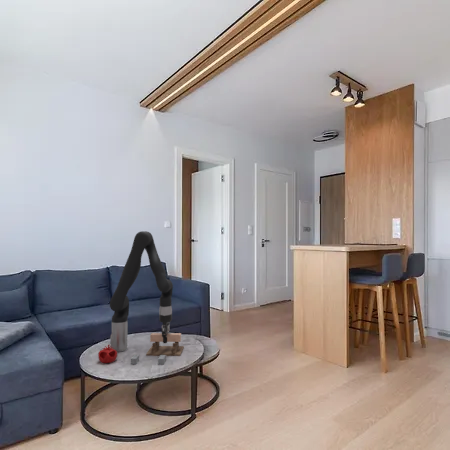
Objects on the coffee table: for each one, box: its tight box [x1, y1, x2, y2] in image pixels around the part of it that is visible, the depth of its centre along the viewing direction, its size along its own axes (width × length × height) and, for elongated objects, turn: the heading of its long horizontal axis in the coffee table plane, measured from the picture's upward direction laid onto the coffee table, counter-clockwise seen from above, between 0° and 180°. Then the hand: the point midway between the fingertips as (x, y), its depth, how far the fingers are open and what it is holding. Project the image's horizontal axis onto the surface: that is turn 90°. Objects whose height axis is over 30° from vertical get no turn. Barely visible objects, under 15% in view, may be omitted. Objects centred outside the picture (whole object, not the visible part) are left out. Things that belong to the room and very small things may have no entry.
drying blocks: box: [130, 354, 167, 366], centre depth 186 cm, size 18×6×3 cm, turn 88°
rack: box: [145, 342, 185, 357], centre depth 203 cm, size 20×14×6 cm
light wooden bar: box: [149, 332, 182, 343], centre depth 203 cm, size 18×4×4 cm, turn 88°
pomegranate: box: [97, 344, 118, 364], centre depth 188 cm, size 10×10×9 cm
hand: (165, 341), depth 203 cm, fingers closed on light wooden bar, 3 cm apart
